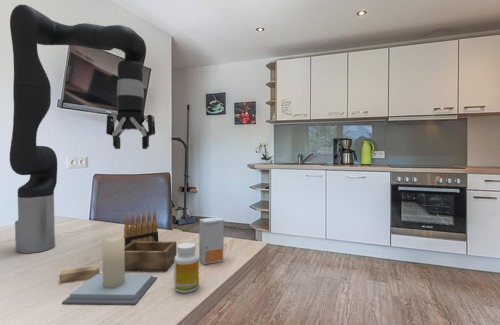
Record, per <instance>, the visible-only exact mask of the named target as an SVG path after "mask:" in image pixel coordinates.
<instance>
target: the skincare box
mask: <svg viewBox="0 0 500 325" xmlns="http://www.w3.org/2000/svg"><path fill="white" fill-rule="evenodd" d="M198 221H199V227H198V228H199V235H198V236H199V237H198V238H199V242H198V244H199V245H198V246H199V250H198V253H199V254H198V257H199V261H200V263H202V265H209V264H214V263H220V262H224V243H225V242H224V234H225V232H224V228H225V227H224V225H225V224H224V223H225V222H224V221H225V220H224V219H223V218H221V217H219V216H218V217H216V216H215V217H206V218H200V219H199V220H198Z"/></svg>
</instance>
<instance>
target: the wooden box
mask: <svg viewBox="0 0 500 325" xmlns="http://www.w3.org/2000/svg"><path fill="white" fill-rule="evenodd" d="M124 252H125V272H154V273H155V272H161V273H162V272H163V273H164V272H168V270H169V269H170V268H171V266H172V265H173V264H174V259H175V256H176V255H177V254H178V251H177V241H162V240H161V241H159V240H158V241H132V242H131V243H129V244H128V245H126V246H125V247H124Z"/></svg>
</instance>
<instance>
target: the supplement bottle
mask: <svg viewBox="0 0 500 325" xmlns="http://www.w3.org/2000/svg"><path fill="white" fill-rule="evenodd" d="M176 248H177V255H176V256H175V259H174V263H173V264H174V265H173V266H174V267H173V268H174V272H173V273H174V275H173V276H174V278H173V280H174V281H173V282H174V286H173V287H174V290H175V291H176V292H178V293H181V294H188V293H191V292H192V293H193V292H194V291H196V290H197V289H198V288H199V285H200V284H199V283H200V281H199V280H200V277H199V275H200V272H199V270H200V269H199V266H200V265H199V263H200V262H199V261H200V260H199V254H197V253H196V244H195V243H193V242H183V243H180V244H178V245H176Z"/></svg>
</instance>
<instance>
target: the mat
mask: <svg viewBox="0 0 500 325" xmlns="http://www.w3.org/2000/svg"><path fill="white" fill-rule="evenodd" d="M157 279H158V276H152V280H151V281H150V282H149V283H148V285H147V286H146V287H145V288H144V289H143V290H142V292H141V293H140V294H139V295H138V296H137V297H136V299H135V300H126V299H70V296H68V297H67V298H65V299H64V300H63V301H61V305H90V306H91V305H94V306H95V305H96V306H97V305H98V306H99V305H100V306H104V305H105V306H106V305H107V306H110V305H111V306H113V305H114V306H136V305H137V304H138V303H139V301H140V300H141V299H142V298H143V296H144V295H145V294H146V292H147V291H148V290H149V289H150V288H151V286H152V285H153V284H154V283H155V282H156V280H157Z"/></svg>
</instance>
